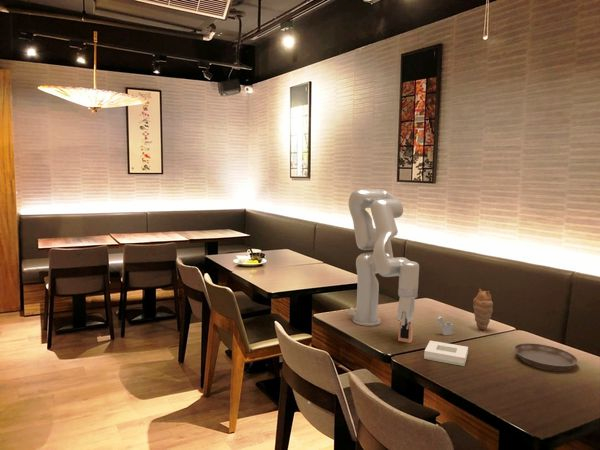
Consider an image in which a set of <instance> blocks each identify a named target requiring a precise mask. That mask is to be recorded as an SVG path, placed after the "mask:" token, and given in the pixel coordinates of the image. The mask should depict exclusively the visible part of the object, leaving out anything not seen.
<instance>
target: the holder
mask: <svg viewBox="0 0 600 450" xmlns="http://www.w3.org/2000/svg"><path fill="white" fill-rule="evenodd" d="M423 352H424V354H423V355H424V356H423V359H424V360H429V361H434V362H440V363H445V364H451V365H456V366H461V367H465V366H466V361H467V358H468V356H469V355H468V354H469V346H466V345H459V344H453V343H448V342H447V343H446V342H441V341H435V340H429V342H428V344H427V346H426V347H425V349H424V351H423Z"/></svg>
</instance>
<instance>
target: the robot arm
mask: <svg viewBox="0 0 600 450" xmlns="http://www.w3.org/2000/svg"><path fill="white" fill-rule="evenodd" d="M367 208H368V209H370V211H371V215H372V216H371V215H370V213H369V212H368V211H367V210H366V209H367ZM348 209H349V213H350V216H351V218H352V223H353V229H354V237H355V243H356V246H357V248H358V249H360V250H363V251H368V250H369V252H363V253H360V254H359V255H358V256H357V257H356V260H355V268H356V275H357V282H356V283H357V289H356V309H355V310H351V309H348V310H347V315H348V316H353V317H352V322H353V323H355V325H356V324H357V325H360V326H365V327H373V326H379V325H380V324H381V323H382V321H381V318H380V317H378V311H379V291H380V289H379V287H380V286H379V285H380V284H379V280H378V278H377V277H376V274H379V275H380V276H381V277H384V278H391V277H398V290H397V295H398V297H399V300H398V307H397V318H396V320H397V321H398V322H399V321H400V322H401V332H400V337H401V338H405V339H408V338H409V329H408V326H409V323H411V324H412V320H413V317H414V314H415V303H416V302H415V300H416V298H418V294H419V293H418V291H419V290H418V289H419V278H420V277H419V276H420V275H419V274H420V264H419V263H418V262H417V261H412V260H409V259H408V258H406V257H401V256H400V257H398V256H397V257H394V253H393V248H392V241H391V239H393V238H394V237H396V236H397V235H398V234H399V233H398V228H397V224H396V220H395V219H398V218H400V217H402V216H403V213H404V206H403V203H402V202H401V200H400V199H399V198H397V197H396V196H394V195H393V194H391V193H390V192H389V191H387V190H386V189H380V188H360V189H356V190H354V191H352V192H351V193H350V195H349V198H348ZM373 222H374V225H373ZM374 226H375V228H374ZM370 250H373V251H372V252H370ZM405 323H407V325H406V324H405Z"/></svg>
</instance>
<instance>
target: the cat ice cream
mask: <svg viewBox="0 0 600 450" xmlns="http://www.w3.org/2000/svg"><path fill="white" fill-rule="evenodd" d="M472 305H473V310H474V311H473V314H474V321H475V322H476V327H477V329H479V330H481V331H485V330H487V329H488V328H489V325H490V321H491V319H492V314H493V307H494V303H493V301H492V294H491V293H490V291H489V290H488V291H487V290H482V289H481V288H479V289H478V293H477V295H476V297H474V298H473V304H472Z"/></svg>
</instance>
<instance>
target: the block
mask: <svg viewBox="0 0 600 450" xmlns="http://www.w3.org/2000/svg"><path fill="white" fill-rule="evenodd" d="M405 324H406V325H407V323H405ZM408 329H409V338H408V339H405V338H401V337H400V332H401V321H400V322H399V324H398V336H397V337H398V338H397V341H398V342H404V343H408V344H411V343H412V341H413V331H414V323H412V322H411V323H409V326H408Z"/></svg>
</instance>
